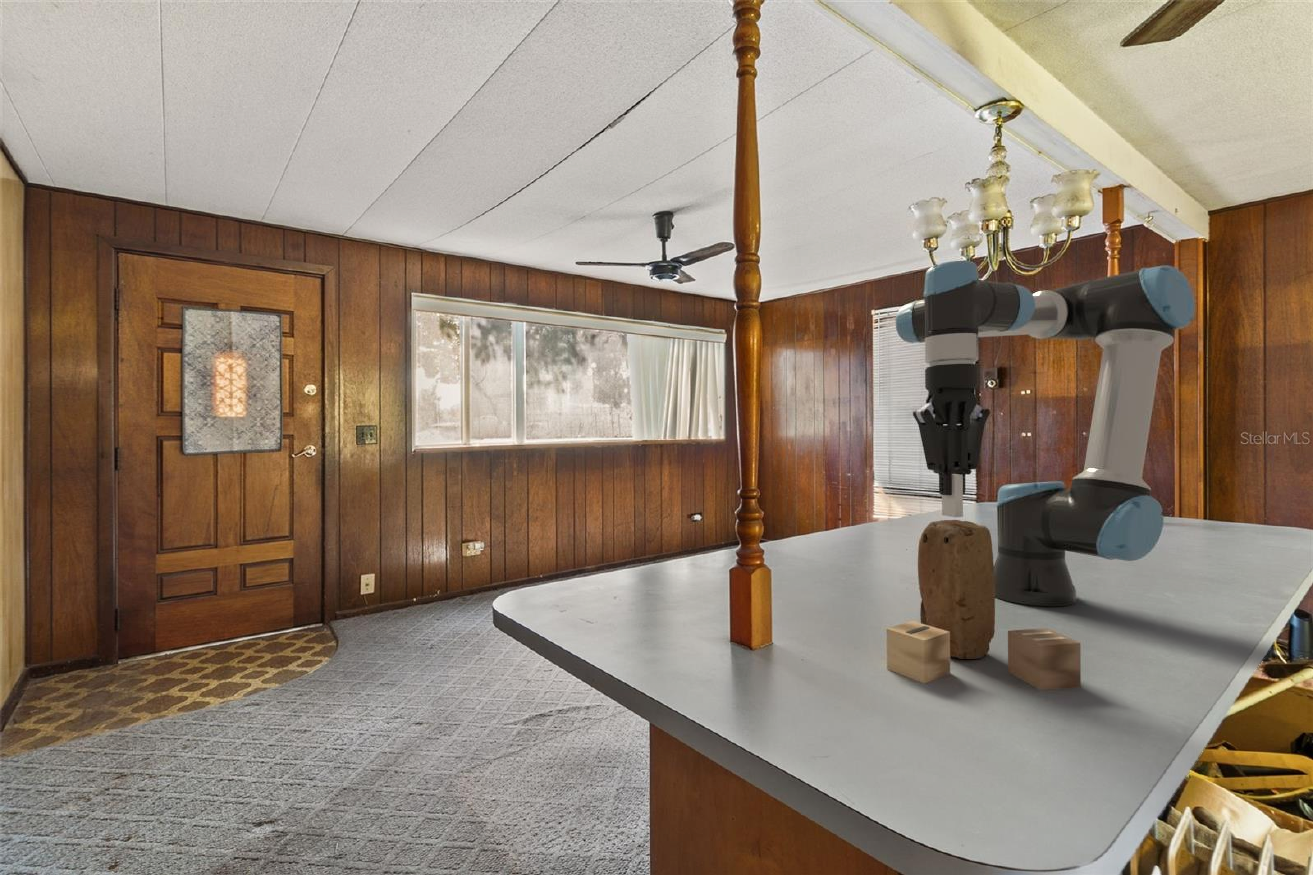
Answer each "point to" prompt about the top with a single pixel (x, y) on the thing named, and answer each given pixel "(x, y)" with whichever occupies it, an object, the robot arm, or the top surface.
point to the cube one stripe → (918, 651)
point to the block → (958, 584)
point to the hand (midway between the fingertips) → (952, 515)
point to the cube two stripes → (1044, 658)
